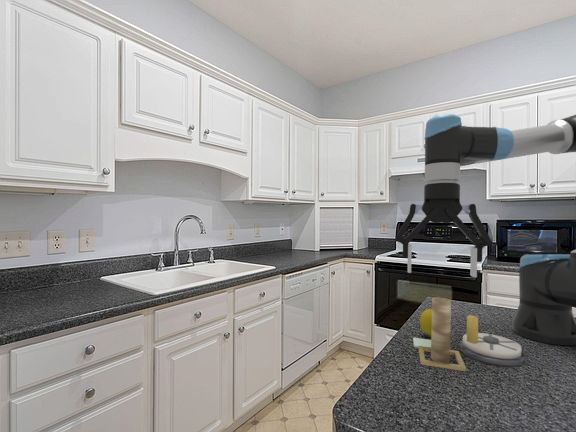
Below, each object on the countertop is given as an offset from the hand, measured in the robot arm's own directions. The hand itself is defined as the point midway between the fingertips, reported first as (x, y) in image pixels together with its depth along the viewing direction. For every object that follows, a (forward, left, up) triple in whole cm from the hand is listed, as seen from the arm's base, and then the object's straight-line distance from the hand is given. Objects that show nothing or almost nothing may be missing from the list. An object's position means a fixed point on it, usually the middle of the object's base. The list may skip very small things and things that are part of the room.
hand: (440, 274), depth 74 cm
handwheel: (-12, -8, -18) cm, 23 cm away
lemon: (+1, -14, -20) cm, 25 cm away
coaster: (+2, -8, -20) cm, 22 cm away
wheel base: (-12, -8, -20) cm, 25 cm away
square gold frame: (0, 0, -20) cm, 20 cm away
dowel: (0, 0, -20) cm, 20 cm away
